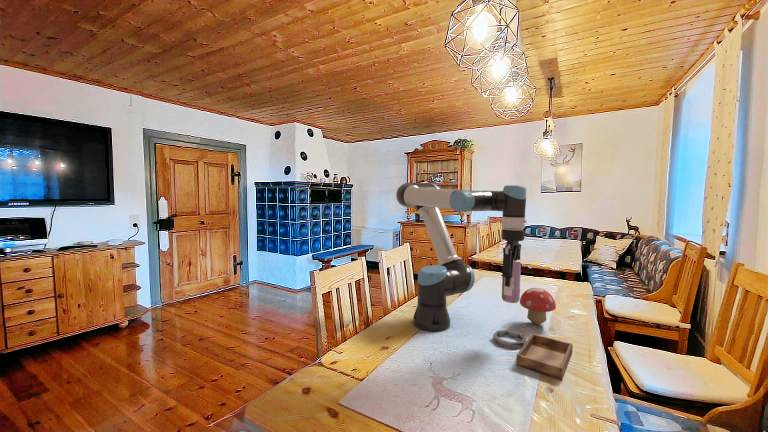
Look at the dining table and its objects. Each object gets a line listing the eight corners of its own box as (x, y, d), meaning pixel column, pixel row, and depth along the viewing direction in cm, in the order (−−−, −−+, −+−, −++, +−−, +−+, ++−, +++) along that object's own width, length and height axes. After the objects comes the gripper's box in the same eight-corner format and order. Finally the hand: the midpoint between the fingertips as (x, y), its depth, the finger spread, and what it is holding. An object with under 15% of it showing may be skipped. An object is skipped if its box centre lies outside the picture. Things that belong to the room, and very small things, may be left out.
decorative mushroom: (523, 329, 126) (524, 292, 125) (515, 316, 139) (516, 283, 138) (560, 332, 123) (561, 294, 122) (548, 319, 136) (550, 284, 135)
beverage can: (520, 299, 116) (522, 259, 114) (517, 304, 110) (519, 262, 109) (503, 296, 119) (504, 257, 118) (500, 301, 114) (501, 260, 112)
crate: (516, 365, 99) (516, 354, 99) (531, 342, 114) (532, 333, 114) (562, 380, 91) (562, 368, 91) (572, 353, 107) (572, 343, 106)
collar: (490, 342, 114) (490, 337, 114) (499, 332, 123) (499, 328, 123) (520, 351, 108) (520, 346, 108) (528, 340, 116) (528, 335, 116)
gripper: (516, 232, 103) (513, 302, 105) (531, 227, 118) (528, 288, 119) (493, 230, 108) (491, 297, 109) (510, 226, 122) (508, 285, 124)
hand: (510, 292), depth 114 cm, fingers closed on beverage can, 6 cm apart
